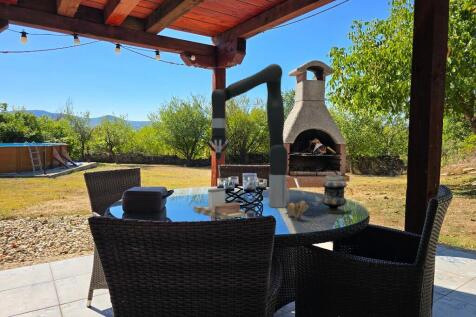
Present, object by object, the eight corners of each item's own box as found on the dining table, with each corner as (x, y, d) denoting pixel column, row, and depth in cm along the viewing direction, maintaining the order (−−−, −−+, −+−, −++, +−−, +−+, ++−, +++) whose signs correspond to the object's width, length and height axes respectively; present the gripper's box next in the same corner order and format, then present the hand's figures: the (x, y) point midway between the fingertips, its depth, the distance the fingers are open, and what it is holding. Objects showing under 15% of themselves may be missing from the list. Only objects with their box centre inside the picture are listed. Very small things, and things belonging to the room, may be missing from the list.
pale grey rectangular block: (208, 210, 163) (208, 189, 163) (221, 207, 169) (221, 188, 168) (212, 211, 161) (212, 190, 160) (225, 208, 166) (225, 188, 166)
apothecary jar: (350, 213, 165) (351, 177, 164) (327, 214, 162) (328, 177, 161) (338, 208, 177) (339, 174, 175) (317, 209, 174) (317, 174, 173)
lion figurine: (309, 221, 150) (310, 201, 149) (300, 222, 147) (300, 202, 147) (289, 214, 163) (289, 196, 162) (280, 215, 160) (280, 197, 160)
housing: (193, 211, 169) (193, 200, 168) (212, 208, 177) (212, 197, 176) (225, 220, 151) (225, 207, 151) (244, 216, 159) (244, 204, 159)
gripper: (205, 127, 180) (205, 159, 181) (229, 127, 178) (229, 160, 179) (208, 127, 187) (208, 158, 188) (231, 127, 185) (231, 159, 186)
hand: (218, 159), depth 184 cm, fingers closed
